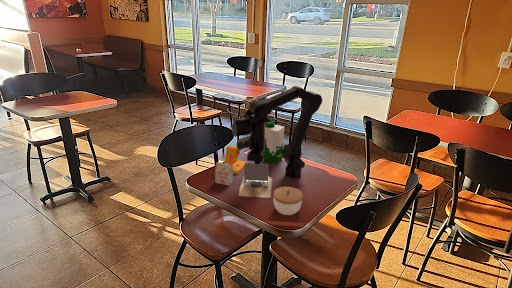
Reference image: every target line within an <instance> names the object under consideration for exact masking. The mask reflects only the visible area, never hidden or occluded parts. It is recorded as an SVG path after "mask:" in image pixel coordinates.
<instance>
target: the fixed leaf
mask: <svg viewBox="0 0 512 288" xmlns="http://www.w3.org/2000/svg"><path fill="white" fill-rule="evenodd" d="M269 178H270V175H268V181H261V182H262V187H268V182H269ZM251 181H257V180H244V186H250V183H251Z"/></svg>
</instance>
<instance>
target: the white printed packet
mask: <svg viewBox="0 0 512 288" xmlns="http://www.w3.org/2000/svg"><path fill="white" fill-rule="evenodd" d="M214 183H215V184H221V185H225V186H231V185H232V183H234V174H233V170H232V167H231V164H225V163H223V162H218V161H217V162H216V163H215V169H214Z"/></svg>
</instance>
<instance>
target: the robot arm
mask: <svg viewBox="0 0 512 288" xmlns="http://www.w3.org/2000/svg"><path fill="white" fill-rule="evenodd" d="M298 98H299V99H301V102H300V104H301V105H300V106H301V107H300V108H301V112H300V114H299V117H298V120H297V122H296V126H295V129H294V131H293V133H292V134H293V135H292V136H291V140H290V142H288V143H287V144H286V143H283V150H282V151H281V152H282V160H284V162H285V163H286V165H285V173H284V174H285V177H289V178H290V179H298V178H302V169H303V168H304V167H305V165H306V162H304V161H303V160H302V159H301V158H302V154H303V153H302V144H303V143H304V140H305V139H304V138H305V137H306V134H307V131H308V128H309V126H310V122H311V120H312V117H313V116H314V115H315V113H316V112H317V111H319V109H320V107H321V105H322V103H323V98H322V96H321V94H319V93H316V92H313V91H311V90H308V91H307V90H306V89H304V88H302V87H301V86H298V85H294V86H292V87H291V88H289V89H286V90H284V91H283V92H280V93H278V94H275V95H274V96H271V97H269V98H261V99H256V100H253V101H252V102H250V103H249V106H248V109H247V111H246V112H245V113H244V115H243V118H234V119H233V122H232V125H231V132H232V135H233V137H235V138H236V137H241V136H244V137H241V138H238V139H237V140H236V146H237V148H238V149H239V150H240V151H241V150H243V149H246V148H248V150H249V151H248V152H247V155H246V156H247V157H246V160H247V161H249V162H254V163H256V164H261V163H262V162H263V158H264V153H265V149H264V146H266V140H267V139H266V138H265V126H266V122H270V121H271V120H270V118H268V116H269V115H270V114H271V113H272V112H273V111H274V110H275V109H276V108H278V107H281V106H283V105H285V104H287V103H289V102H291V101H294V100H296V99H298ZM249 135H250V136H249Z"/></svg>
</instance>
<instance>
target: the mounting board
mask: <svg viewBox="0 0 512 288" xmlns="http://www.w3.org/2000/svg"><path fill="white" fill-rule="evenodd" d="M272 183H273V177H269V182H268V187H262V186H244V175H243V176H242V179H241V183H240V186H239V190H238V193H237V196H238V197H248V198H249V197H250V198H264V199H265V198H270V199H271V197H272V187H273V184H272Z"/></svg>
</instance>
